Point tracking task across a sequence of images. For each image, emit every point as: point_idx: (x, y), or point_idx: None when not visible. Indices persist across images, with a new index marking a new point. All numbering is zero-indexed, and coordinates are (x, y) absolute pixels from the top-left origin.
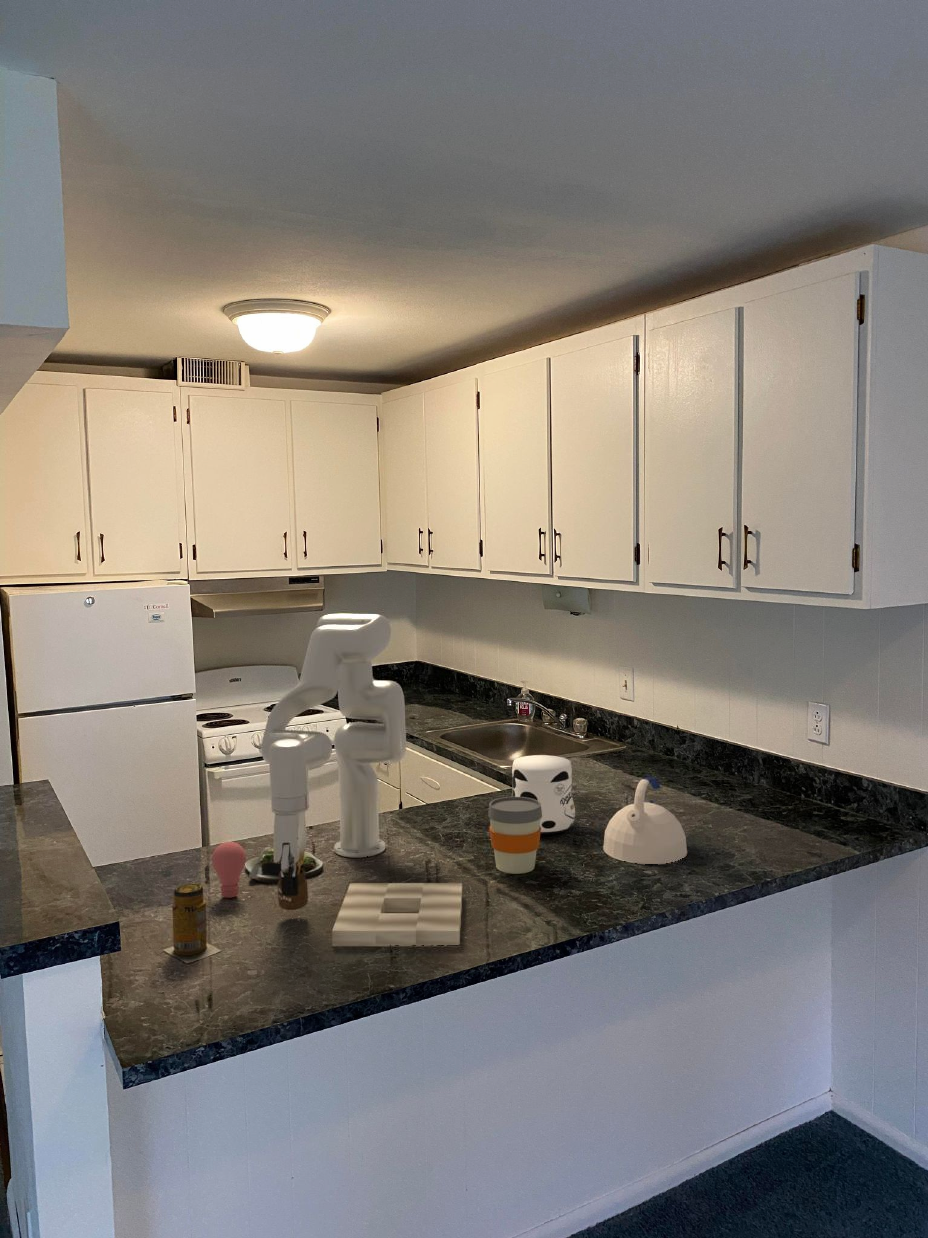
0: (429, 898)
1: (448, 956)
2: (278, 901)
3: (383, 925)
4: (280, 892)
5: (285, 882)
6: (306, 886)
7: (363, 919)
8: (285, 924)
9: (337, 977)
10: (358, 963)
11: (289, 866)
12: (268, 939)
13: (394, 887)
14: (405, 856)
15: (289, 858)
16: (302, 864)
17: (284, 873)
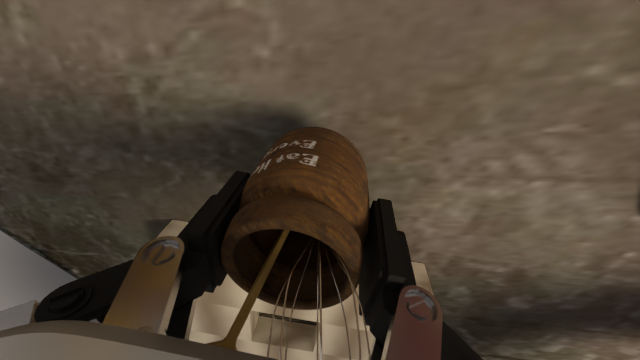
0: (309, 357)
1: None
2: (302, 131)
3: (196, 306)
4: (262, 164)
5: (186, 228)
6: (290, 254)
7: (217, 290)
8: (283, 127)
9: (60, 218)
10: (122, 246)
11: (380, 268)
12: (178, 81)
13: (372, 339)
14: (603, 351)
15: (392, 322)
16: (365, 319)
17: (97, 282)
